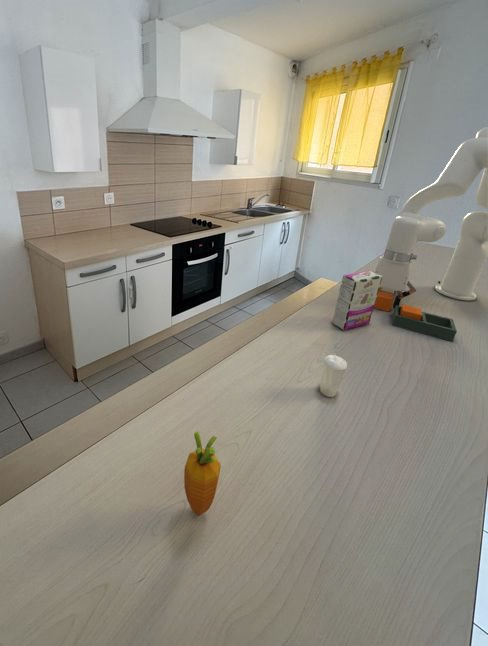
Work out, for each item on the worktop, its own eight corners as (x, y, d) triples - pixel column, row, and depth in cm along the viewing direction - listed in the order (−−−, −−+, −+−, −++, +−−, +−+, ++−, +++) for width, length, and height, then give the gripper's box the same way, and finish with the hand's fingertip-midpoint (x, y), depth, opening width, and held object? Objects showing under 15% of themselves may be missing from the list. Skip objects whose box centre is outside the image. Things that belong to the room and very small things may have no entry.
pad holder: (392, 314, 107) (395, 305, 105) (448, 328, 100) (453, 319, 98) (392, 325, 100) (395, 315, 99) (452, 341, 93) (456, 331, 92)
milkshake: (337, 385, 74) (347, 349, 70) (339, 401, 69) (350, 364, 66) (316, 380, 75) (325, 344, 72) (316, 396, 71) (326, 359, 67)
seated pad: (398, 316, 105) (402, 304, 103) (416, 321, 102) (421, 308, 100) (398, 323, 101) (402, 310, 99) (417, 328, 98) (422, 315, 96)
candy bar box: (355, 316, 104) (369, 269, 98) (369, 324, 100) (384, 276, 94) (330, 322, 100) (342, 274, 93) (343, 331, 96) (357, 281, 89)
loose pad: (373, 301, 115) (377, 290, 113) (389, 305, 112) (393, 294, 110) (372, 307, 111) (376, 295, 109) (389, 311, 108) (393, 299, 106)
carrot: (180, 496, 50) (184, 425, 44) (212, 495, 50) (220, 424, 44) (182, 533, 45) (187, 459, 39) (217, 530, 46) (227, 457, 40)
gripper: (428, 258, 103) (410, 307, 110) (367, 247, 111) (354, 293, 118) (430, 265, 97) (411, 316, 104) (366, 252, 105) (352, 301, 112)
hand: (381, 303), depth 111 cm, fingers open, 7 cm apart
